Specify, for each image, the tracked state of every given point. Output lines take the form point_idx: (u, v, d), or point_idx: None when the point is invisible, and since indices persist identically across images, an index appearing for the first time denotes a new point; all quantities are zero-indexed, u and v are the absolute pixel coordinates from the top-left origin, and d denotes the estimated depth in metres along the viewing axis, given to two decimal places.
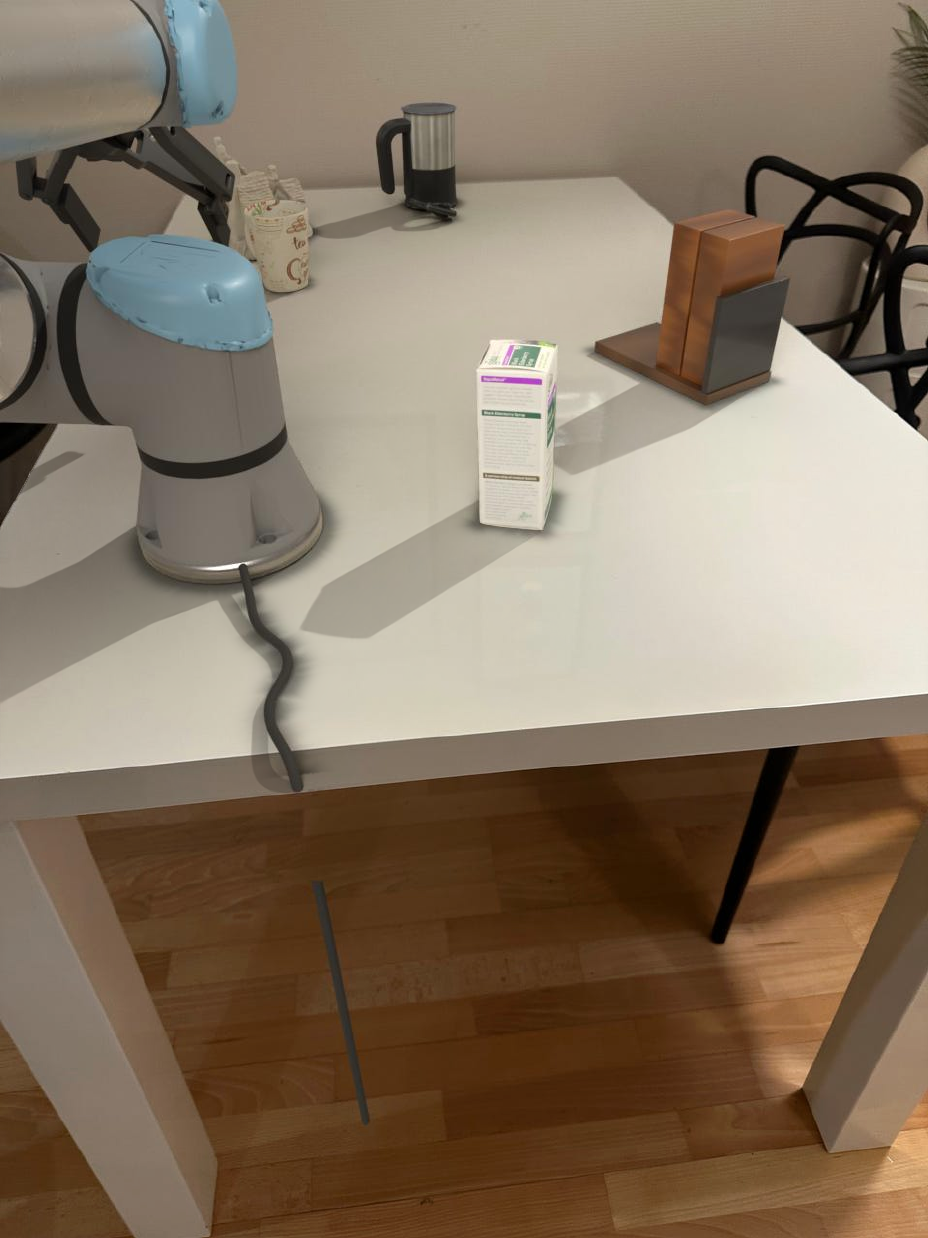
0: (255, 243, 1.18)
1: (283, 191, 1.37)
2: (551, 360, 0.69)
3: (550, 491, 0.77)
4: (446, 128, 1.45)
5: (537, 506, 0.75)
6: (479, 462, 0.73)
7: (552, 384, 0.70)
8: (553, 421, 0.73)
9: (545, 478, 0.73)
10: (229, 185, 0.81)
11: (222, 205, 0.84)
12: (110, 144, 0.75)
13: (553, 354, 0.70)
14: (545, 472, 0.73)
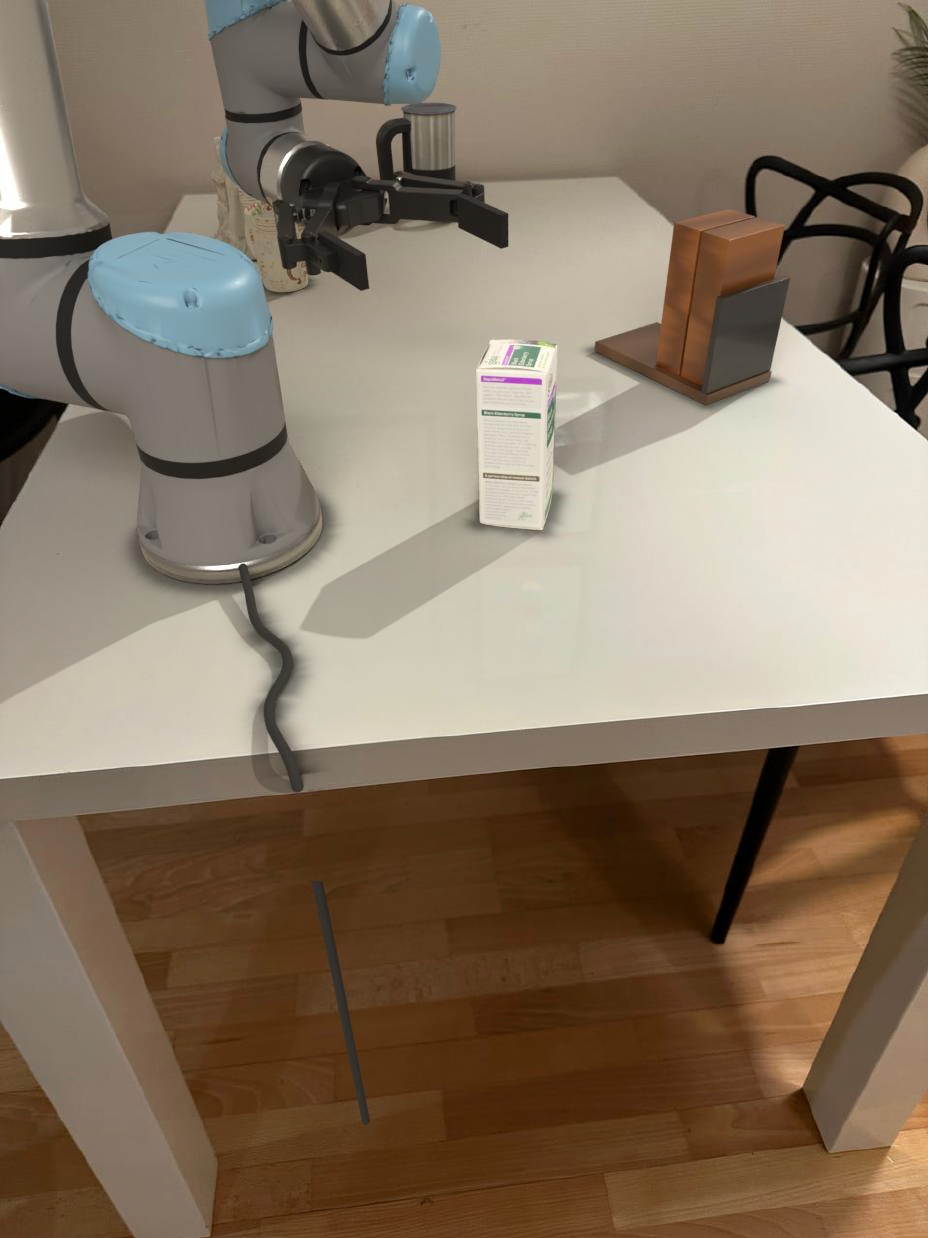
0: (255, 243, 1.18)
1: None
2: (551, 360, 0.69)
3: (550, 491, 0.77)
4: (446, 128, 1.45)
5: (537, 506, 0.75)
6: (479, 462, 0.73)
7: (552, 384, 0.70)
8: (553, 421, 0.73)
9: (545, 478, 0.73)
10: None
11: None
12: None
13: (553, 354, 0.70)
14: (545, 472, 0.73)
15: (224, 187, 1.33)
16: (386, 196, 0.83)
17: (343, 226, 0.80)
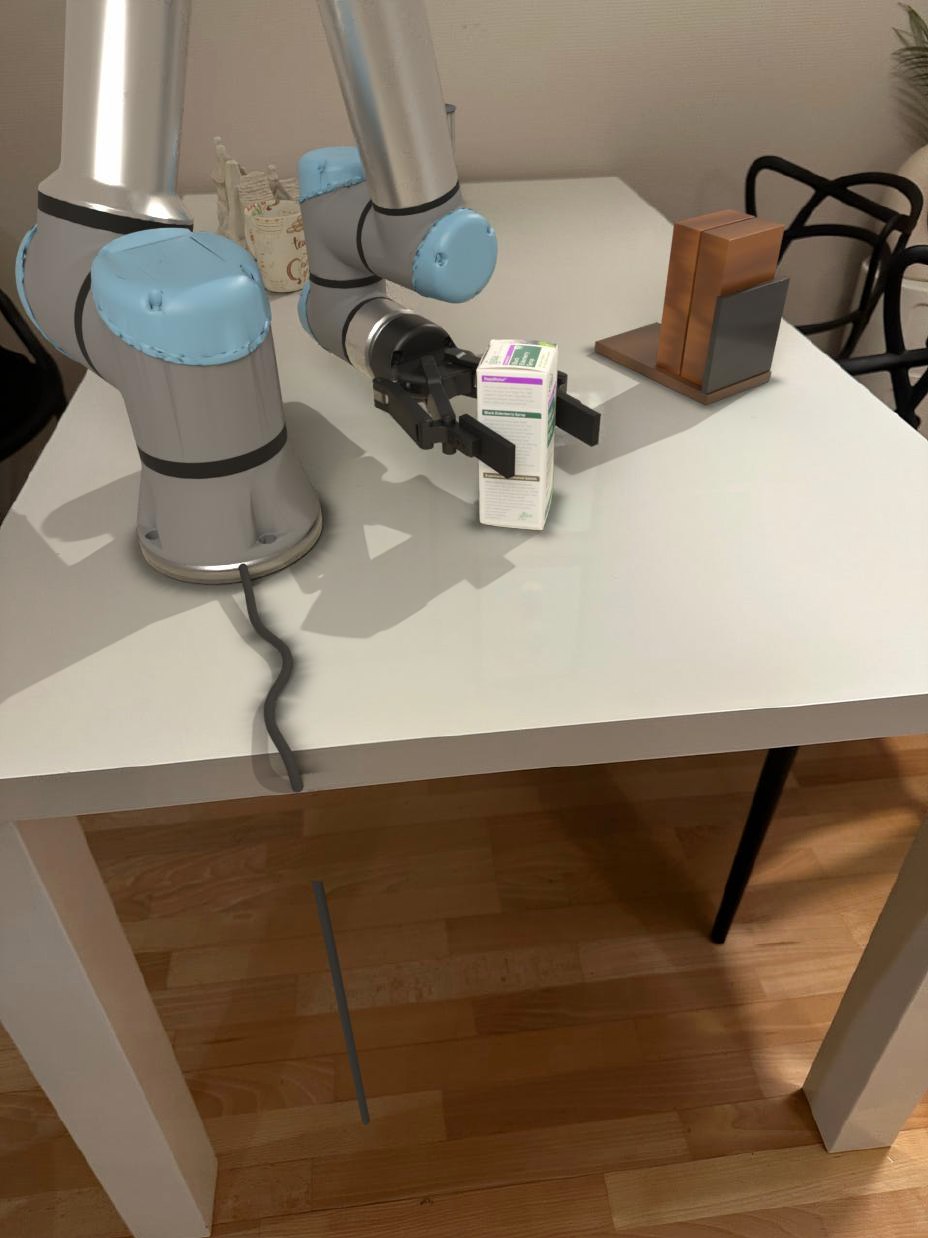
0: (255, 243, 1.18)
1: (283, 191, 1.37)
2: (552, 360, 0.69)
3: (550, 491, 0.77)
4: None
5: (537, 506, 0.75)
6: (479, 462, 0.73)
7: (552, 384, 0.70)
8: (553, 421, 0.73)
9: (545, 478, 0.73)
10: None
11: None
12: (457, 350, 0.80)
13: (554, 354, 0.70)
14: (545, 472, 0.73)
15: (224, 187, 1.33)
16: None
17: None
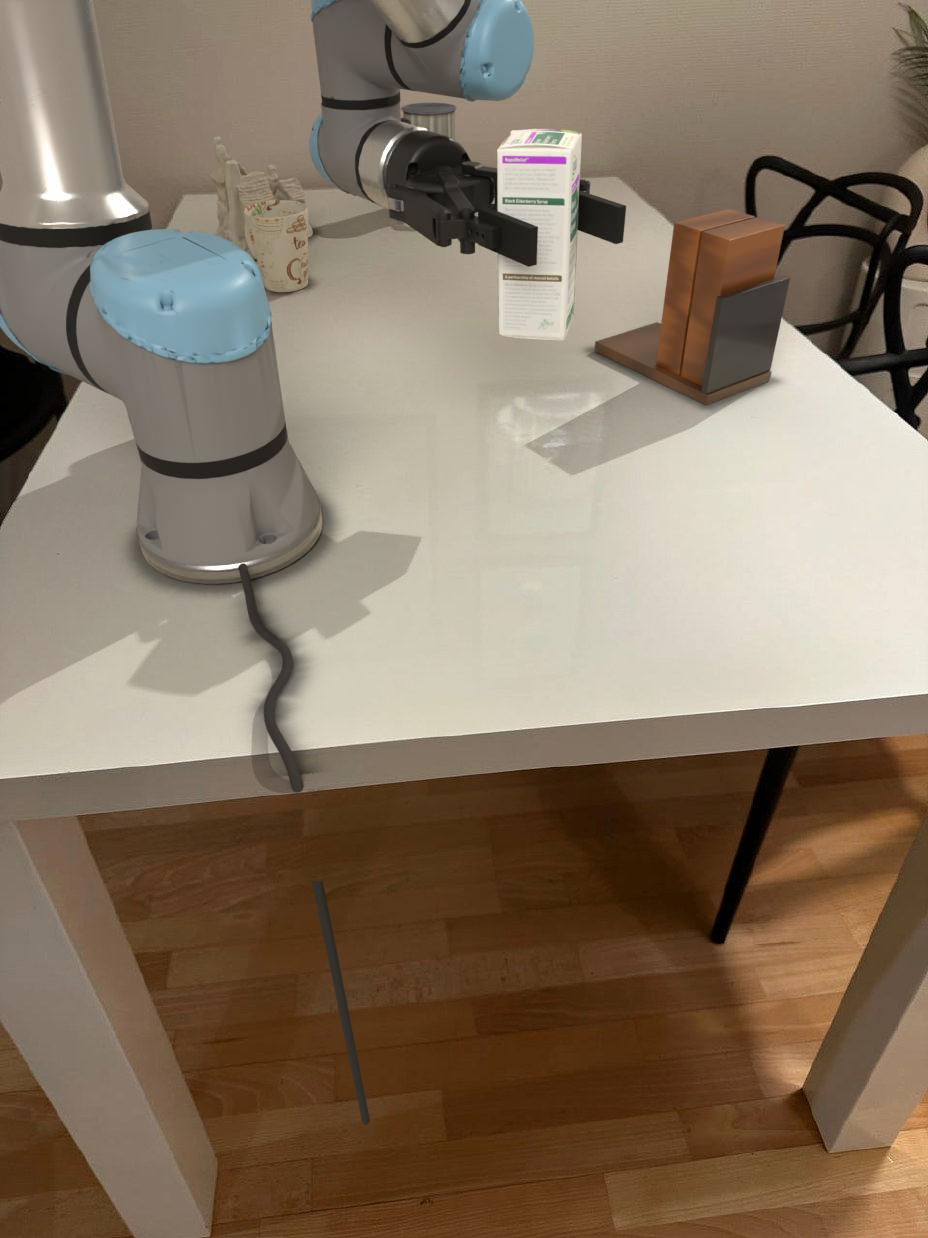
0: (255, 243, 1.18)
1: (283, 191, 1.37)
2: (575, 142, 0.66)
3: (572, 302, 0.74)
4: (446, 128, 1.45)
5: (559, 312, 0.72)
6: (499, 261, 0.70)
7: (576, 171, 0.67)
8: (576, 218, 0.70)
9: (567, 278, 0.70)
10: None
11: None
12: None
13: (577, 138, 0.67)
14: (568, 270, 0.70)
15: (224, 187, 1.33)
16: None
17: None
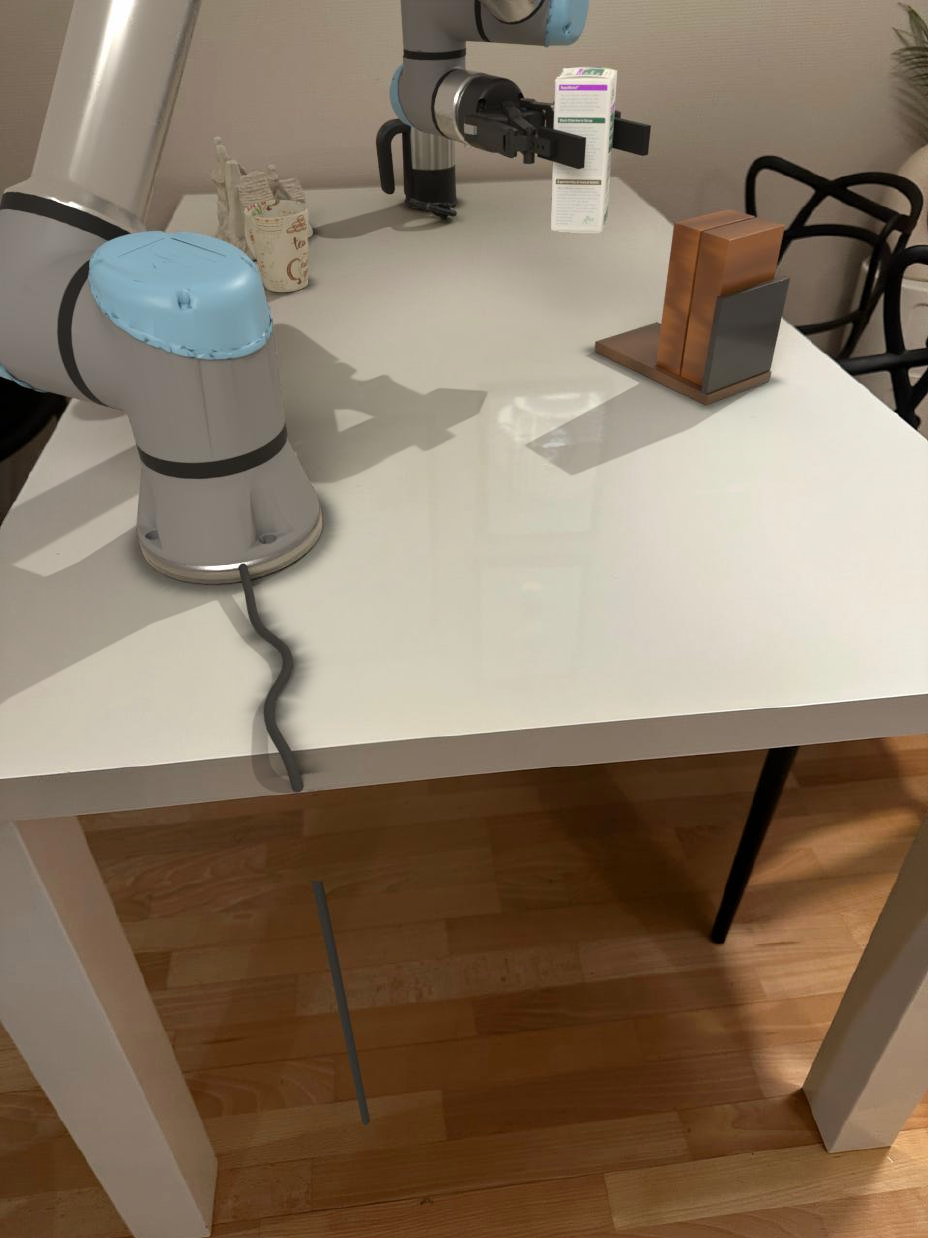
0: (255, 243, 1.18)
1: (283, 191, 1.37)
2: (613, 74, 0.88)
3: (607, 205, 0.96)
4: None
5: (598, 209, 0.93)
6: (553, 169, 0.92)
7: (613, 98, 0.89)
8: (612, 136, 0.92)
9: (606, 182, 0.92)
10: None
11: None
12: (530, 99, 0.99)
13: (614, 73, 0.88)
14: (606, 176, 0.91)
15: (224, 187, 1.33)
16: None
17: None
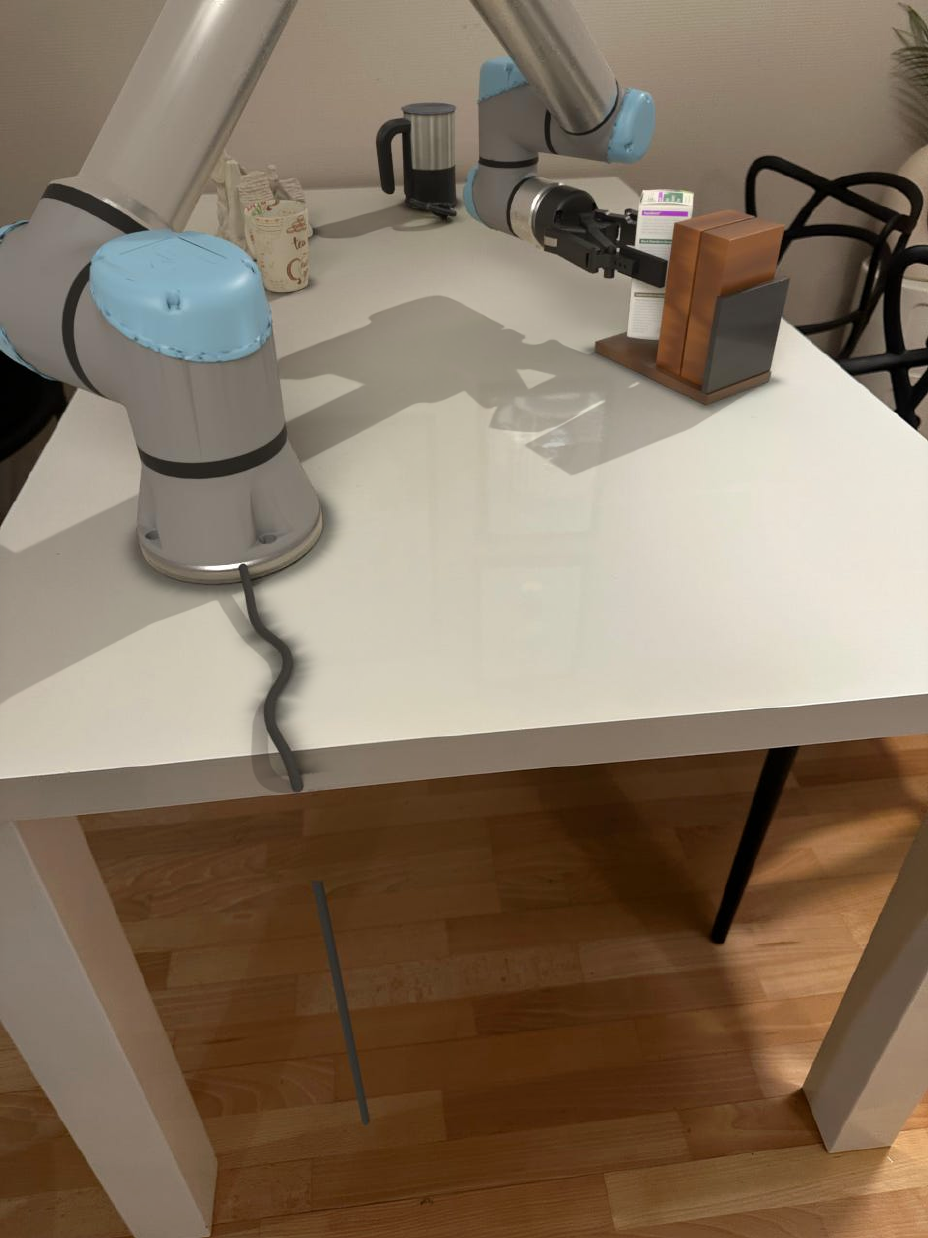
0: (255, 243, 1.18)
1: (283, 191, 1.37)
2: (692, 200, 0.94)
3: None
4: (446, 128, 1.45)
5: None
6: (632, 283, 0.98)
7: None
8: None
9: None
10: None
11: None
12: (604, 210, 1.05)
13: (692, 197, 0.94)
14: None
15: (224, 187, 1.33)
16: None
17: None
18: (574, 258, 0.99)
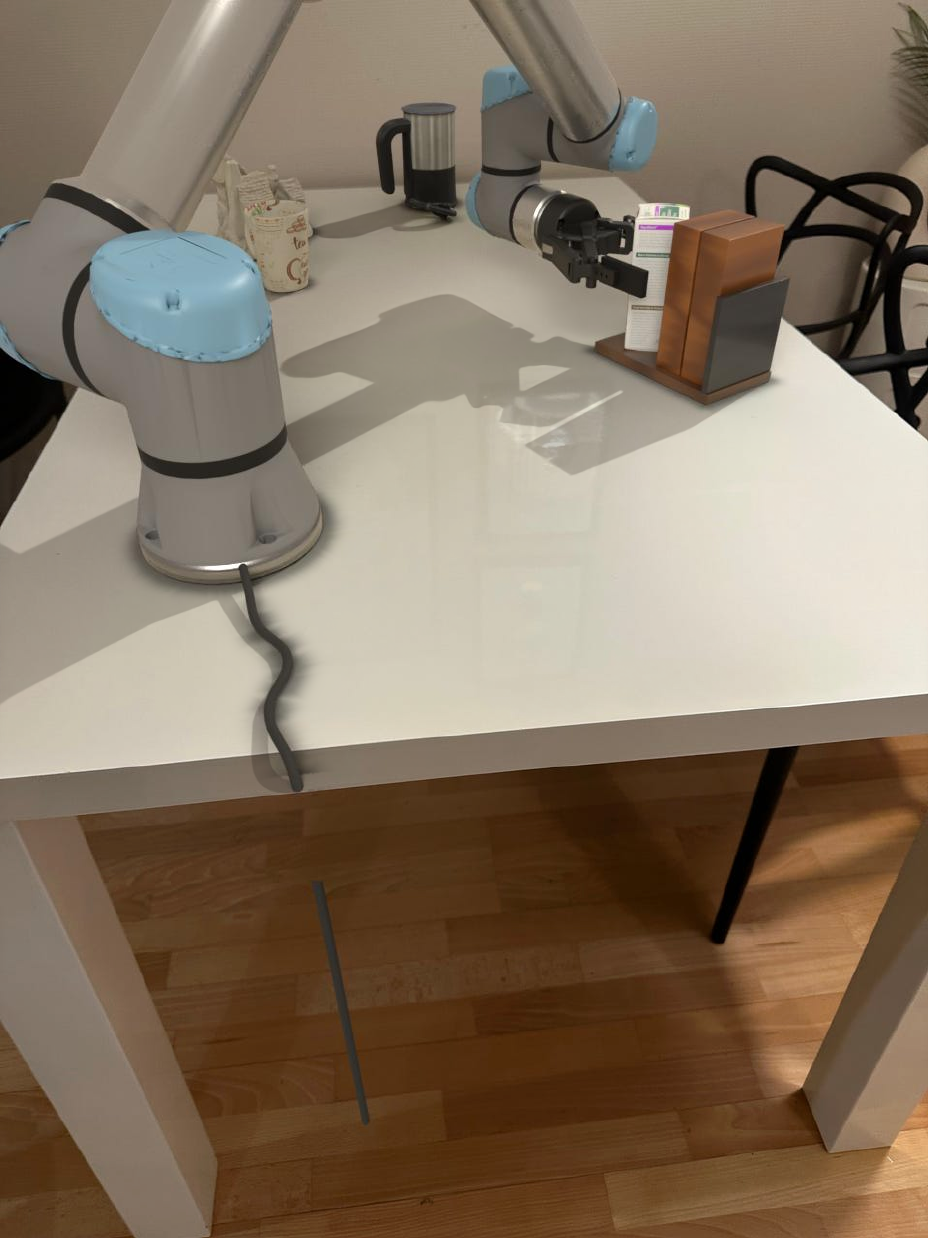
0: (255, 243, 1.18)
1: (283, 191, 1.37)
2: None
3: None
4: (446, 128, 1.45)
5: None
6: (629, 296, 0.99)
7: None
8: None
9: None
10: None
11: None
12: (606, 218, 1.05)
13: (689, 211, 0.95)
14: None
15: (224, 187, 1.33)
16: None
17: None
18: (561, 267, 0.99)
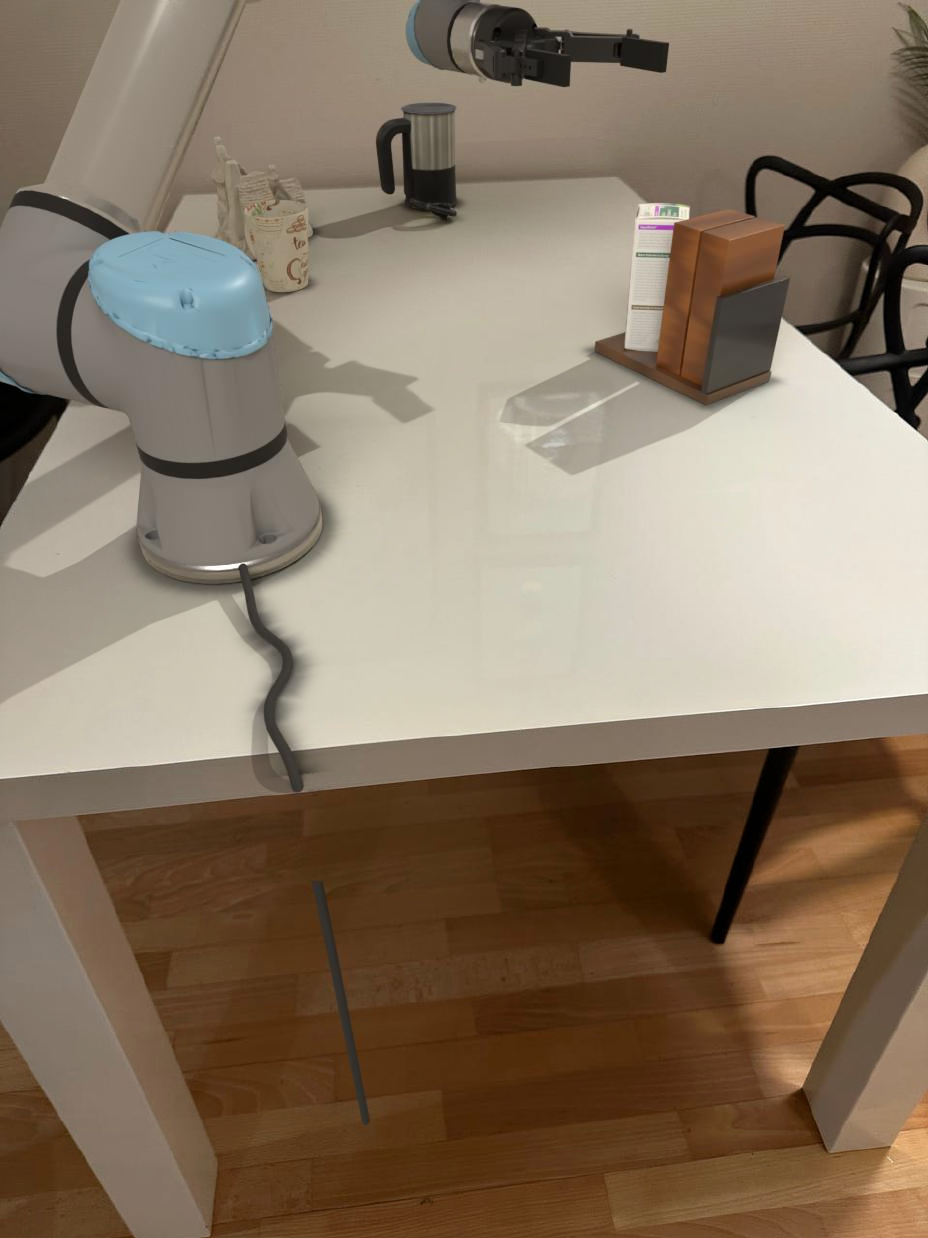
0: (255, 243, 1.18)
1: (283, 191, 1.37)
2: (688, 214, 0.94)
3: None
4: (446, 128, 1.45)
5: None
6: (629, 296, 0.99)
7: None
8: None
9: None
10: None
11: None
12: (544, 28, 1.02)
13: (688, 211, 0.95)
14: None
15: (224, 187, 1.33)
16: None
17: None
18: (489, 66, 0.96)
